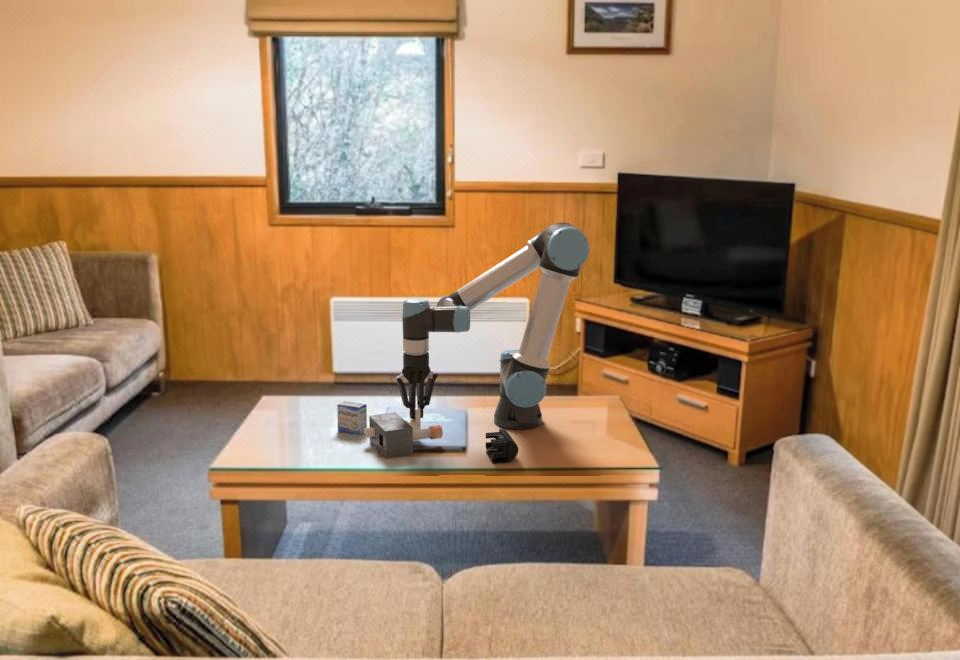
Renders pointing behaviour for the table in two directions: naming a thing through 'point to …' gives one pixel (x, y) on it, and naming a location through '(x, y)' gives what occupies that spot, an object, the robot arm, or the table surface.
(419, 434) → the knob
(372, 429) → the knob
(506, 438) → the end cap
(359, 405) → the medicine box
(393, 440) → the grey peg holder block
